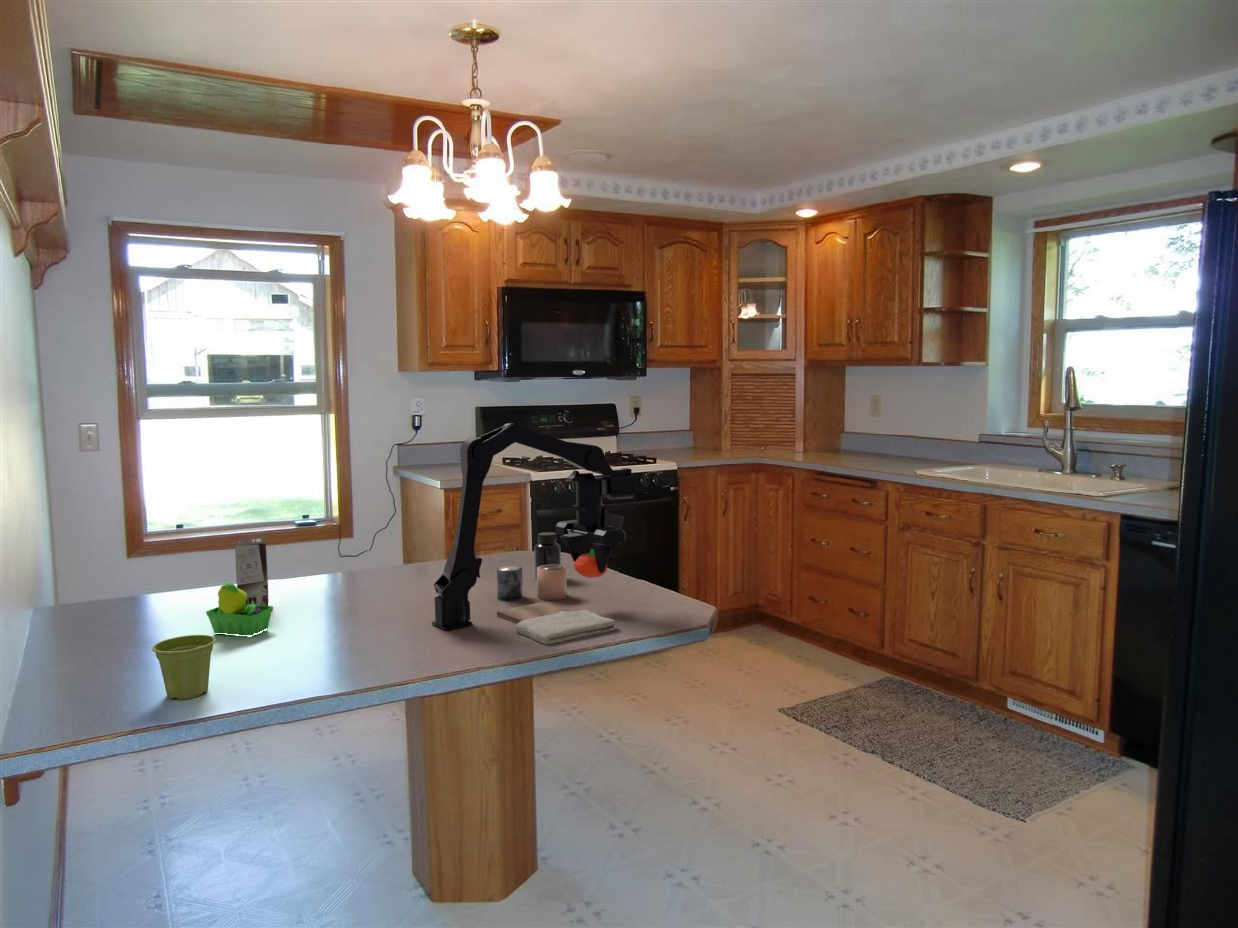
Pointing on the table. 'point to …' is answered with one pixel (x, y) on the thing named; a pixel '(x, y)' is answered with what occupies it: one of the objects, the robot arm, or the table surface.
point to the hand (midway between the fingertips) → (590, 569)
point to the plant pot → (185, 664)
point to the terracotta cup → (551, 582)
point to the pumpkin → (588, 565)
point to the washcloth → (564, 626)
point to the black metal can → (509, 583)
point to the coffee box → (252, 570)
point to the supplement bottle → (547, 551)
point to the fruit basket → (238, 613)
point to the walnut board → (529, 612)
